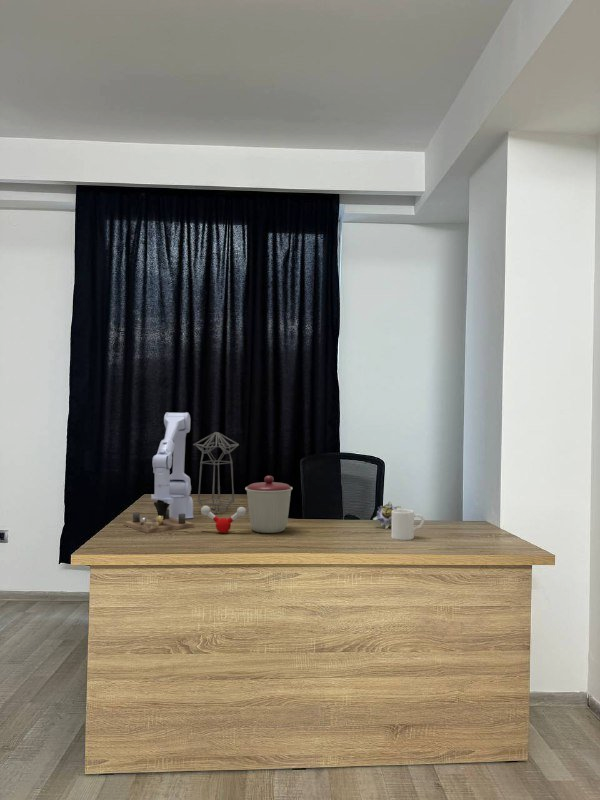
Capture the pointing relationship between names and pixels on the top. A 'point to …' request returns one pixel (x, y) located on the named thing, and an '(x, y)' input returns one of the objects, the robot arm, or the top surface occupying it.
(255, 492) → the canister
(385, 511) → the passion flower
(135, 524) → the wooden board with pegs
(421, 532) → the top surface
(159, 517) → the metal crank handle
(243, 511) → the molecular model
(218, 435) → the geometric lantern
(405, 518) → the mug
